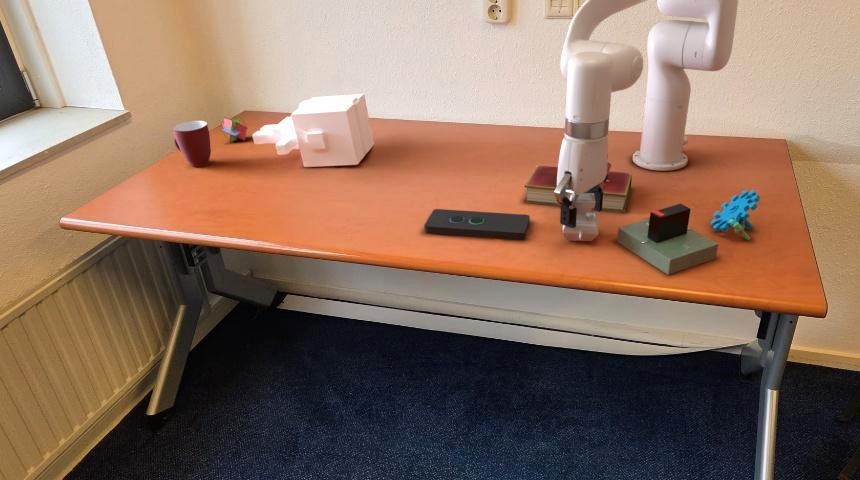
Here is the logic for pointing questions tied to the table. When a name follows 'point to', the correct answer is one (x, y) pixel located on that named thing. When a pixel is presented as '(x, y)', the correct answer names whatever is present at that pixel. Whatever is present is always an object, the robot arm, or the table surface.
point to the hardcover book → (546, 183)
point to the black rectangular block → (668, 223)
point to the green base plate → (667, 247)
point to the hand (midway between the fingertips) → (581, 216)
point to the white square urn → (583, 220)
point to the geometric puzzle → (234, 129)
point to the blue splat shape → (736, 213)
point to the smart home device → (477, 224)
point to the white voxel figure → (323, 131)
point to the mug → (193, 142)
